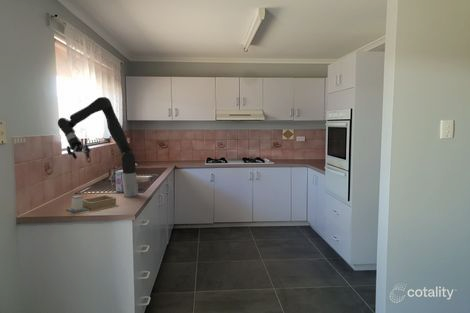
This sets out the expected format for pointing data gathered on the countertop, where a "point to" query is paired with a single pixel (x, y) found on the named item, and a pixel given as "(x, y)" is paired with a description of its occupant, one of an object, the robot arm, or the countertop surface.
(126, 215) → the countertop surface
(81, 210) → the slate mat
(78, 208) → the tea box
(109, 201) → the carton
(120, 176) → the candy box
